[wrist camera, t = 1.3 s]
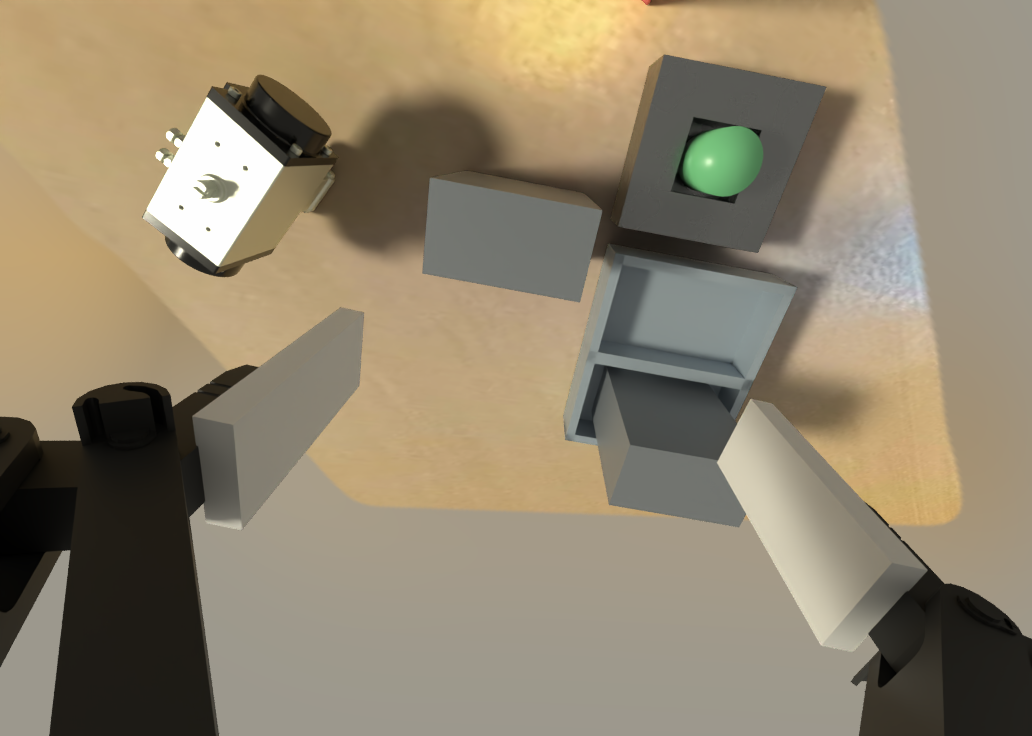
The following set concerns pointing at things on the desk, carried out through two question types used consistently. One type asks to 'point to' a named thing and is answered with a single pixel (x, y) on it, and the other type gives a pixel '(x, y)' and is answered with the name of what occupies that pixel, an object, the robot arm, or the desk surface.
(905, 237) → the desk surface
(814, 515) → the robot arm
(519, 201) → the block
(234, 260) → the pneumatic valve
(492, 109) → the desk surface
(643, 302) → the divided tray
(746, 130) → the button
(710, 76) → the grey square block
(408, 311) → the desk surface
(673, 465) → the block
